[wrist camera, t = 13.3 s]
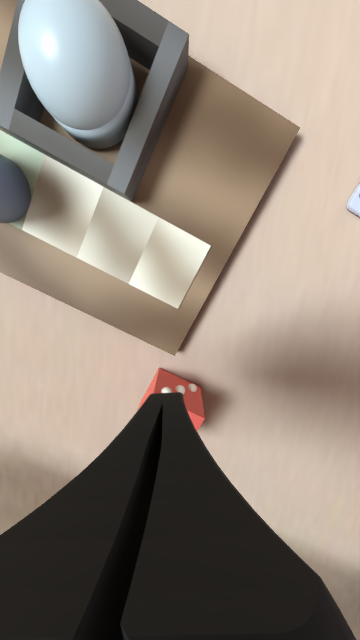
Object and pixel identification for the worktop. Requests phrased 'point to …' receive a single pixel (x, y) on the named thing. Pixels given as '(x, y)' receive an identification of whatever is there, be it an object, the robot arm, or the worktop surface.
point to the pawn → (13, 191)
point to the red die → (173, 383)
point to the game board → (137, 183)
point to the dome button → (79, 68)
